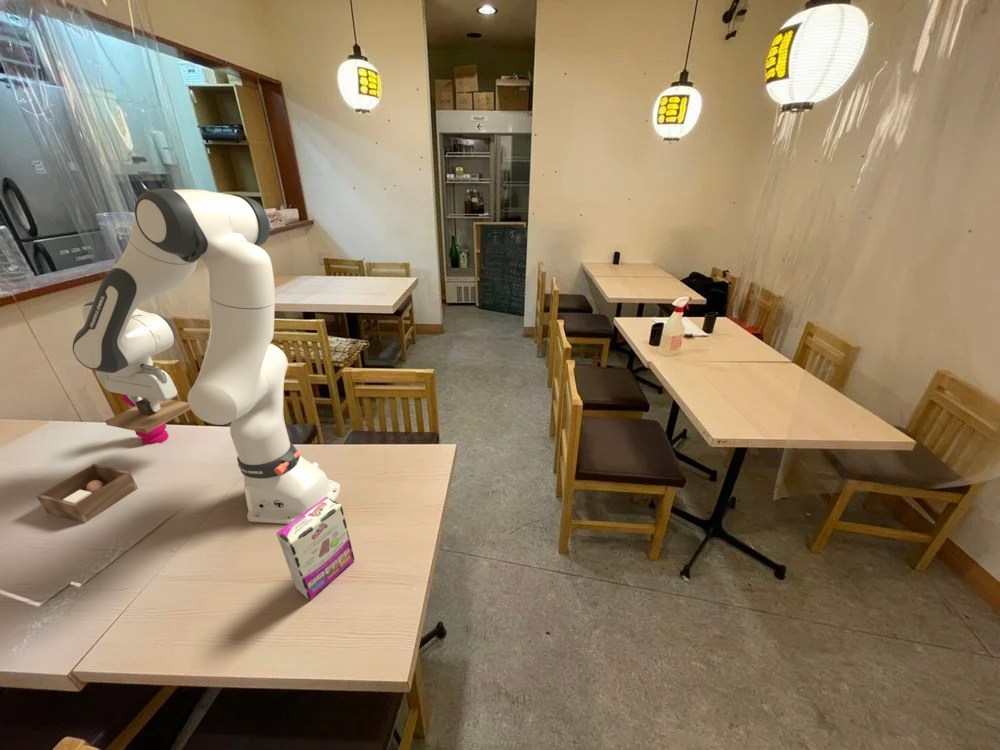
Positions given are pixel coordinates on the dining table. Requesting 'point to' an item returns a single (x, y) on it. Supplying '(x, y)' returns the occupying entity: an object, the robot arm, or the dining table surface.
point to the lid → (148, 415)
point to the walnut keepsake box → (97, 502)
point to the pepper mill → (153, 436)
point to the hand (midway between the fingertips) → (149, 409)
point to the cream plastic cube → (77, 496)
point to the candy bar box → (316, 547)
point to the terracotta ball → (94, 486)
